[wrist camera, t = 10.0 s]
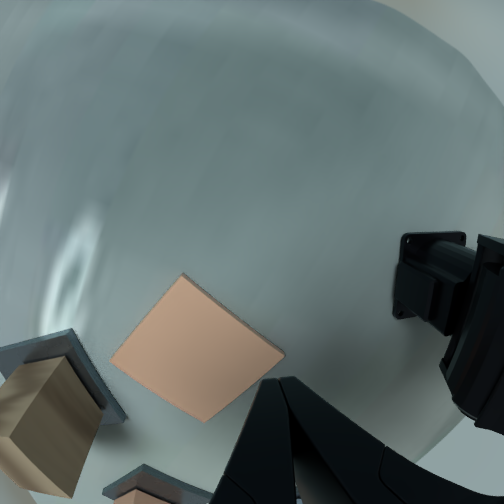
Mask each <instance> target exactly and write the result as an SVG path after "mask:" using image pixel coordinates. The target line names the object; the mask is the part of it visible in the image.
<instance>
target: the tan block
mask: <svg viewBox="0 0 504 504" xmlns="http://www.w3.org/2000/svg"><path fill="white" fill-rule="evenodd" d="M114 504H170V503H167V502H165V501H162V500H160V499H157V498H155V497H153V496H150V495H148V494H146V493H143V492H141V491H139V490H137V489H135V490H133V491H131V492H130V493H128V494H126V495H124V496H122V497H120V498H118V499H116V500H114Z"/></svg>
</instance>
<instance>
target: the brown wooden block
mask: <svg viewBox="0 0 504 504" xmlns="http://www.w3.org/2000/svg"><path fill="white" fill-rule="evenodd" d="M103 415H104V414H103V413H102V411H101V410H100V409H99V407H98V406H97V404H96V403H95V402H94V400H93V399H92V397H91V396H90V395H89V393H88V392H87V390H86V389H85V387H84V386H83V384H82V383H81V381H80V380H79V378H78V377H77V375H76V374H75V372H74V370H73V369H72V367H71V366H70V364H69V362H68V361H67V359H66V357H65V356H63V357H58V358H53V359H49V360H44V361H39V362H34V363H29V364H23V365H19V366H18V367H17V368H16V369H15V371H14V372H13V373H12V374H11V375H10V376H9V378H8V379H7V380H6V381H5V382H4V384H3V385H2V386H1V387H0V469H1V470H2V471H3V472H4V473H5V474H6V475H7V476H8V477H9V478H10V479H11V480H12V481H13V482H15V484H17V485H18V486H19V487H20V488H23V489H27V490H31V491H35V492H39V493H44V494H48V495H53V496H59V497H64V498H70V499H72V497H73V494H74V491H75V488H76V485H77V483H78V480H79V477H80V474H81V471H82V469H83V466H84V463H85V460H86V458H87V455H88V453H89V450H90V447H91V445H92V442H93V440H94V437H95V435H96V432H97V430H98V427H99V425H100V422H101V420H102V417H103Z"/></svg>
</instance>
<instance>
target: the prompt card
mask: <svg viewBox="0 0 504 504" xmlns="http://www.w3.org/2000/svg"><path fill="white" fill-rule="evenodd" d="M284 357H285V355H284V352H283V351H282V350H281V349H279V348H278V347H277V346H275V345H274V344H272V343H271V342H270V341H268V340H267V339H266V338H264V337H263V336H262V335H261V334H259V333H258V332H257V331H255V330H254V329H253V328H251V327H250V326H249V325H247V324H246V323H245V322H244V321H242V320H241V319H240V318H238V317H237V316H236V315H235V314H233V313H232V312H231V311H229V310H228V309H227V308H226V307H224V306H223V305H222V304H221V303H219V302H218V301H217V300H216V299H214V298H213V297H212V296H211V295H209V294H208V293H207V292H206V291H204V290H203V289H202V288H201V287H200V286H198V285H197V284H196V283H195V282H193V281H192V280H191V279H190V278H189V277H187V276H186V275H185V274H184V273H182V274H181V275H180V276H179V277H178V278H177V280H176V281H175V282H174V283H173V284H172V285H171V286H170V288H169V289H168V290H167V291H166V292H165V293H164V295H163V296H162V297H161V298H160V299H159V300H158V302H157V303H156V304H155V305H154V306H153V307H152V309H151V310H150V311H149V312H148V313H147V315H146V316H145V317H144V318H143V319H142V320H141V322H140V323H139V324H138V325H137V326H136V328H135V329H134V330H133V331H132V332H131V334H130V335H129V336H128V337H127V338H126V340H125V341H124V342H123V343H122V345H121V346H120V347H119V348H118V349H117V351H116V352H115V353H114V354H113V356H112V357H111V359H110V360H109V361H110V362H111V363H112V364H114V365H115V366H116V367H118V368H119V369H120V370H122V371H123V372H124V373H126V374H127V375H129V376H130V377H131V378H133V379H134V380H136V381H137V382H139V383H140V384H142V385H143V386H144V387H146V388H147V389H149V390H150V391H152V392H154V393H155V394H157V395H158V396H160V397H161V398H163V399H164V400H166V401H168V402H169V403H171V404H172V405H174V406H176V407H177V408H179V409H181V410H182V411H184V412H186V413H188V414H189V415H191V416H193V417H194V418H196V419H198V420H200V421H202V422H203V423H205V422H206V421H208V420H209V419H210V418H212V417H213V416H214V415H215V414H217V413H218V412H219V411H221V410H222V409H223V408H224V407H226V406H227V405H228V404H229V403H231V402H232V401H233V400H234V399H236V398H237V397H238V396H239V395H241V394H242V393H243V392H244V391H245V390H247V389H248V388H249V387H250V386H251V385H253V384H254V383H255V382H256V381H257V380H259V379H260V378H261V377H262V376H263V375H264V374H265V373H267V372H268V371H269V370H270V369H271V368H272V367H274V366H275V365H276V364H277V363H278V362H279V361H280V360H281V359H283V358H284Z"/></svg>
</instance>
